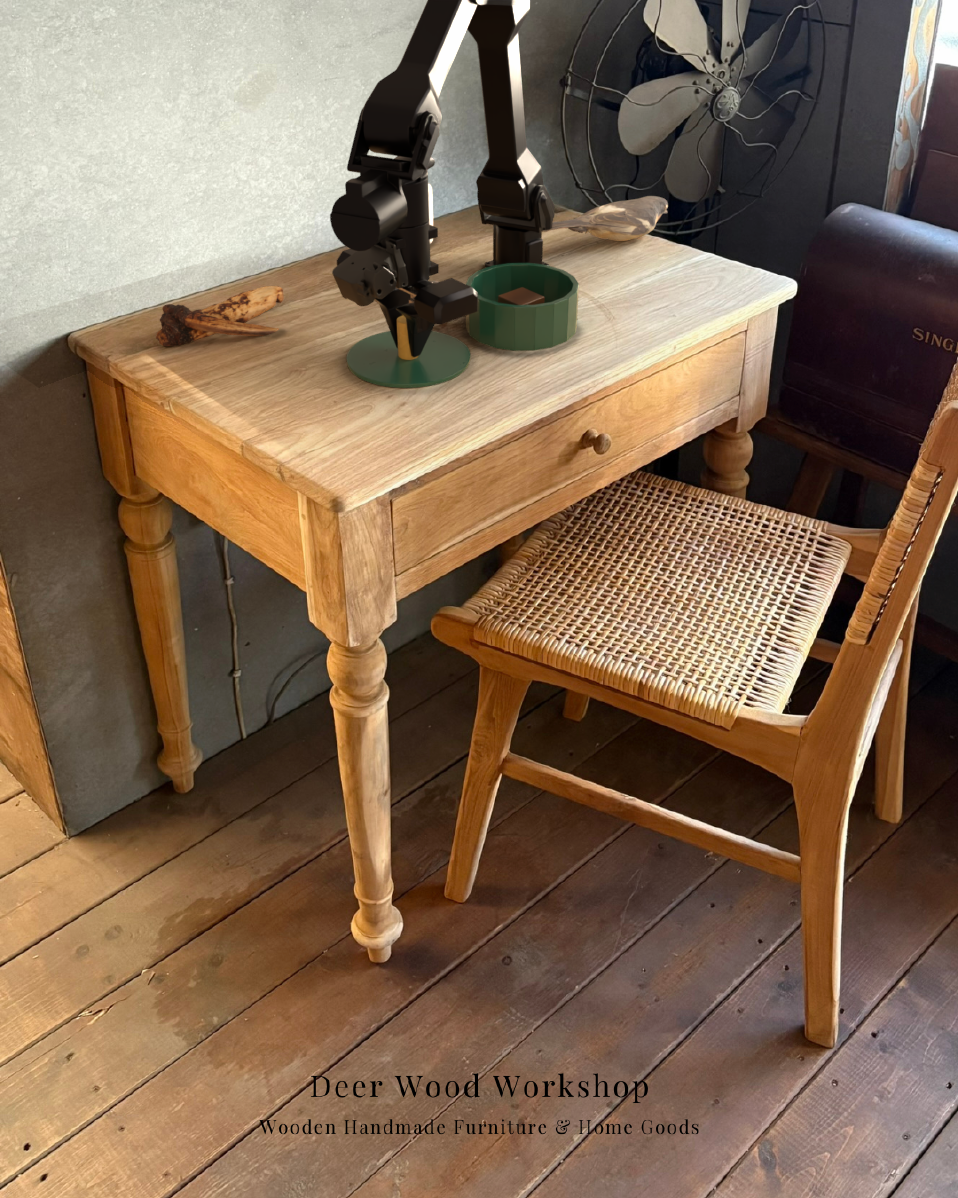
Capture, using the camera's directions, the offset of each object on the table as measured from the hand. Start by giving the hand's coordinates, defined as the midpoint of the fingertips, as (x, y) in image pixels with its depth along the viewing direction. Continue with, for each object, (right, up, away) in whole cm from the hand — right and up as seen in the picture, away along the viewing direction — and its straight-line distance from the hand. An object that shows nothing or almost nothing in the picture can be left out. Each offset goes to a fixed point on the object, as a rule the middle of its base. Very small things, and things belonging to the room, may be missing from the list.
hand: (408, 351), depth 138 cm
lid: (0, -1, 0) cm, 1 cm away
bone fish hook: (-22, +4, +8) cm, 24 cm away
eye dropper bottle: (0, +22, +31) cm, 38 cm away
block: (+13, +5, +8) cm, 16 cm away
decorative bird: (+26, +21, +31) cm, 46 cm away
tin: (+13, +4, +8) cm, 16 cm away
